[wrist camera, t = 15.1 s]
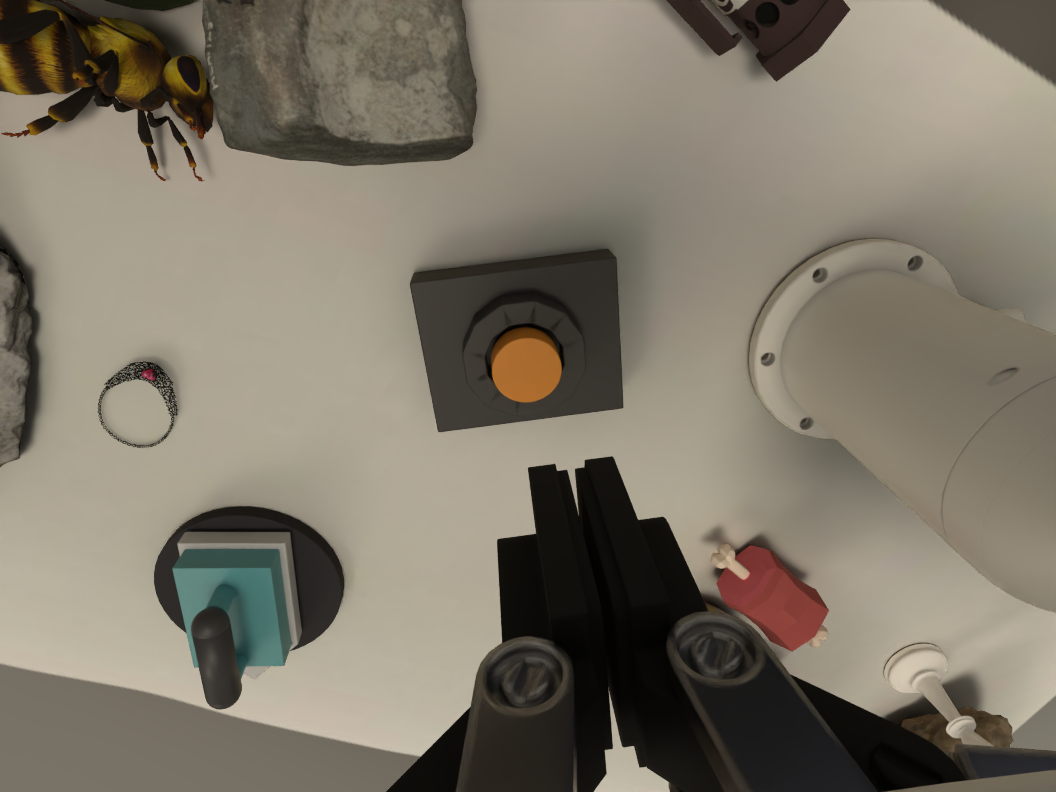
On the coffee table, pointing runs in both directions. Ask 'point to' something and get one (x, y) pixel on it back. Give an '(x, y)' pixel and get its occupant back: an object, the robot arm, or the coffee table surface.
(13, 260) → the fossil stone
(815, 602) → the meat
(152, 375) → the ring
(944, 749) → the stone
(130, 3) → the wine bottle
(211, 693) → the iron
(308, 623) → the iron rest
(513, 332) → the button
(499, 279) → the switch block
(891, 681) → the chess piece
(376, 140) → the stone
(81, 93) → the insect
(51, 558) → the coffee table surface
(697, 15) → the brown perforated bar
